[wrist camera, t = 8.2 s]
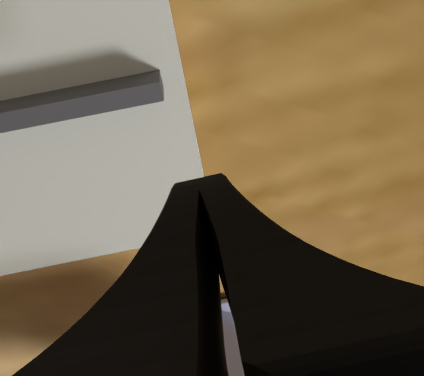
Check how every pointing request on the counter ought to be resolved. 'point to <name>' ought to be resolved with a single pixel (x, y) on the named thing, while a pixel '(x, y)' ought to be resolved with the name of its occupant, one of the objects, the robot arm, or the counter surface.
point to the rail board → (88, 127)
